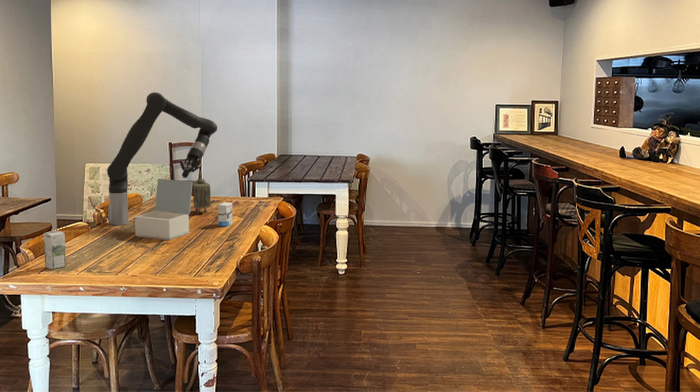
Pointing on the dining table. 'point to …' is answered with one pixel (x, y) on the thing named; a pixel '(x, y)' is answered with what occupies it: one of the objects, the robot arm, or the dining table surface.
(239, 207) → the dining table surface
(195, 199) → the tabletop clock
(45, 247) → the syrup box
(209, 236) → the dining table surface
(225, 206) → the ink box
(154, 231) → the storage box
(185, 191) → the lid
